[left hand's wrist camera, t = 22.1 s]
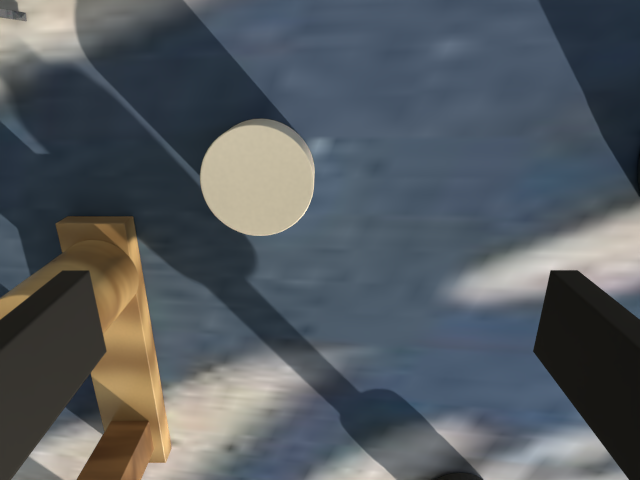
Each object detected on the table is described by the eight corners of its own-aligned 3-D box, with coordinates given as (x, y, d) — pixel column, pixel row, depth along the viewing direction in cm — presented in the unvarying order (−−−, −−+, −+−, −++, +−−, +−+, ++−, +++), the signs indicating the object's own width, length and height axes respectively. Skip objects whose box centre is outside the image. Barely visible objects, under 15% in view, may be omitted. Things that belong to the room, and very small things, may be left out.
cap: (314, 118, 37) (313, 124, 33) (314, 220, 40) (314, 236, 36) (206, 118, 37) (193, 124, 33) (216, 220, 40) (205, 236, 36)
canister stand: (61, 216, 40) (-39, 274, 29) (138, 216, 40) (68, 274, 29) (114, 448, 50) (56, 557, 39) (176, 448, 50) (134, 557, 39)
